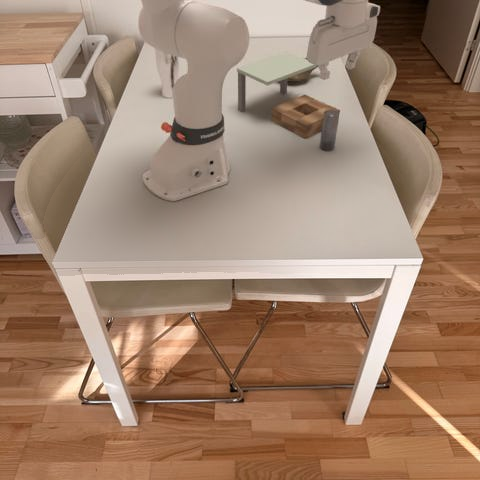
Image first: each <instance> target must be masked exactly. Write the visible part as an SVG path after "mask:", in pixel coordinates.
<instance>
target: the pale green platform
mask: <svg viewBox="0 0 480 480" xmlns="http://www.w3.org/2000/svg"><path fill="white" fill-rule="evenodd" d="M304 58H305V57H301V56H298V55H296V54H293V53H290V52H288V51H283V52H281V53H277V54H274V55H272V56H269V57H265V58H262V59H260V60H257V61H255V62H251V63H248V64H245V65H242V66H239V67H237V68H236V72H237V110H238V111H240V112H241V113H242V112H244V111H246V107H247V106H246V96H247V94H246V92H247V91H246V90H247V89H246V85H247V83H246V78H247V77H248V78H249V79H252V80H254V81H257V82H259V83H261V84H263V85H265V86H270V85H273V84H276V83H278V82H280V83H279V94H280V95H283V96H284V95H286V94H288V92H287V91H288V82H289V81H288V78H289V77H291V76H294V75H297V74H299V73H302V72H304V71H307V70H310V69H312V68H315V67H317V65H314V64H312V63H310V62H308V60H306V59H304ZM317 68H318V67H317Z"/></svg>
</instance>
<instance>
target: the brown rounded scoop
mask: <svg viewBox="0 0 480 480" xmlns="http://www.w3.org/2000/svg"><path fill="white" fill-rule="evenodd" d="M303 58H304V59H306V60H307V56H306V57H303ZM318 68H319V67H318V66H317V67H315V68H312V69H310V70H307V71H304V72H302V73H299V74H297V75H294V76H291V77H289V78H288V81H287V82H301V81H304V80H306V79H308V78H309V77H310V76H311V73H312V72H313V71H315V70H316V69H318Z"/></svg>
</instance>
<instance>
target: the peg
mask: <svg viewBox="0 0 480 480" xmlns="http://www.w3.org/2000/svg"><path fill="white" fill-rule="evenodd" d="M339 118H340V114H339V112H338V111H335V110H326V111H325V112H324V115H323V123H322V131H320V132H321V133H320V140H319V149H320V150H322V151H324V152H332V151H334V150H335V146H336V140H337V132H338V127H339V120H340V119H339Z"/></svg>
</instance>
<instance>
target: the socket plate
mask: <svg viewBox="0 0 480 480" xmlns="http://www.w3.org/2000/svg"><path fill="white" fill-rule="evenodd" d="M326 110H335V111H338V112H339V115H340V112H341V110H340V109H338V108H336V107H335V106H331V105H329V104H327V103H325V102H323V101H320V100H318V99H315V98H314V97H311V96H309V95H308V94H302V95H300V96H298V97H295V98H292V99H291V100H288V101H285V102H283V103H281V104H278V105H276V106H274V107H272V108H271V115H270V117H271V118H270V121H271V122H273V123H275V124H276V125H278V126H280V127H282V128H285V129H286V130H288V131H290V132H292V133H294V134H296V135H298V136H299V137H301V138H304V139H308V138H309V137H312V136H315V135H317V134H319V133H320V132H321V131H322V123H323V115H324V112H325V111H326Z"/></svg>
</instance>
